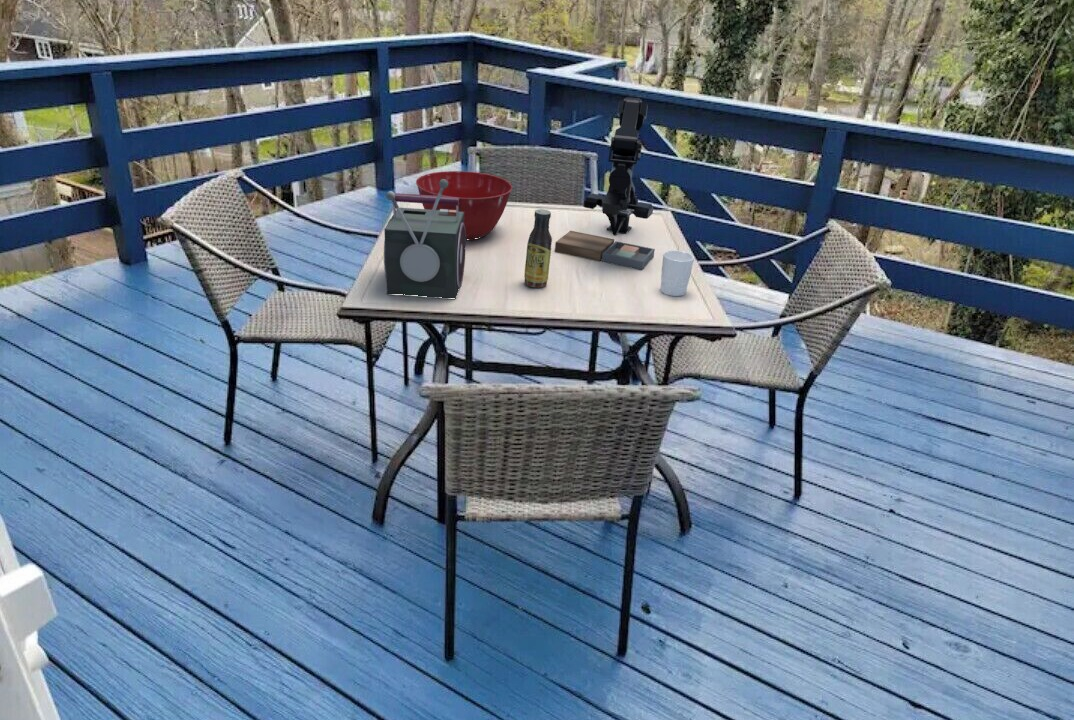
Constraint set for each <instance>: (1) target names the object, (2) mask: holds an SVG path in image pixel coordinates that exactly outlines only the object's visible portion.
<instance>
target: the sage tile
mask: <svg viewBox="0 0 1074 720" xmlns="http://www.w3.org/2000/svg"><path fill="white" fill-rule="evenodd" d="M615 255H616V256H621V257H626V258H631V259H635V255H636V253H633V252H629V251H624V250H620V251H619V252H618V253H617V254H615Z"/></svg>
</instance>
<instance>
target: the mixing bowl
mask: <svg viewBox="0 0 1074 720" xmlns="http://www.w3.org/2000/svg"><path fill="white" fill-rule="evenodd" d="M442 179H445V180H447V181H448V186H447V187H446V188H444V189H443V192H442V195H441V196H445V197H459V207H458V212H464V225H465V234H466V241H468V240H467V239H475V238H479V237H482V236H483V237H485V236H486V235H489V234H490V233H491V232H492V231H494V229H495V228H496V226H497V224H498V223H499V221H500V219H501V218H502V216H503V214H504V211H505V209H506V206H507V204H508V201H509V198H510V194H511V192H512V191H513V184H512V183H511V182H509V181H508V180H506V179H504V178H502V177H500V176H496V175H493V174H489V173H488V174H487V173H482V172H476V171H463V170H448V171H446V170H445V171H437V172H431V173H426V174H423V175H421V176H419V177H417V179H416V181H415V184H416V186H417V190H418V195H430V196H438V193H439V190H440V188H441V187H440V185H439V183H440V181H441V180H442ZM421 204H422V207H423V209H429V210H432V209H433V206H434V204H425V203H421ZM440 209H447V210H456V206H455V205H440V204H438V205H437V208H436V210H440ZM483 237H482V238H483ZM479 239H480V238H479ZM475 240H476V239H475Z"/></svg>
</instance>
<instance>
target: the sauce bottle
mask: <svg viewBox="0 0 1074 720" xmlns="http://www.w3.org/2000/svg"><path fill="white" fill-rule="evenodd" d="M551 218H552V212H551V211H550V210H548V209H542V208H539V209H536V210H535V211H534V225H533V229H532V230H531V232H530V233H529V237H528V240H527V245H526V254H525V255H526V257H525V264H524V284H525V286H528V287H530V288H535V289H540V288H544V287H546V286H547V283H548V280H549V274H550V273H549V272H550V263H551V254H552V243H553V242H552V241H553V237H552V235H551V231H550V230H549V229H550V226H549V225H550V219H551Z"/></svg>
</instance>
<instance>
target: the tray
mask: <svg viewBox="0 0 1074 720" xmlns="http://www.w3.org/2000/svg"><path fill="white" fill-rule="evenodd" d="M624 245H628V246H633V247H638V248H639V253H638V255H637V256H636V257H635V259H631V258H626V257H621V256H616V255H615V254H617V253H618V252H619V251H620V249H621V248H622V247H623V246H624ZM655 251H656V250H655V248H651V247H647V246H642V245H636V244H632V243H627V242H621V241H617V240H616V241H615V240H614V243H613V244H612V245H611V246H610V247H609V248H608V249H607V250H606V251H605V252H604V253H603V254H602V260H601V262H602V263H606V264H611V265H615V266H620V267H625V268H629V269H635V270H639V271H643V270H644V269H645V267H646V266H648V264H649V263H650V261H652V260H653V259H654V257H655Z"/></svg>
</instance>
